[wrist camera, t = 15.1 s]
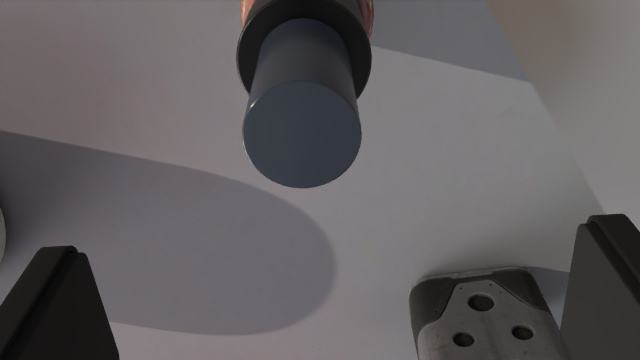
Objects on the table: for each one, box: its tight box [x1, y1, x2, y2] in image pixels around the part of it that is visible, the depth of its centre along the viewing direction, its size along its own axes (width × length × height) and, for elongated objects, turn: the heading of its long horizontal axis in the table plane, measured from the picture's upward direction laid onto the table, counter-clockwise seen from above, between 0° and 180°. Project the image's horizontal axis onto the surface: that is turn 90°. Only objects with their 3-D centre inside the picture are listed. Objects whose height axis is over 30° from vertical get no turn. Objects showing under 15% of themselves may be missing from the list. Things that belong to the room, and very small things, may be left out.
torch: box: [236, 0, 372, 188], centre depth 20 cm, size 5×5×9 cm
